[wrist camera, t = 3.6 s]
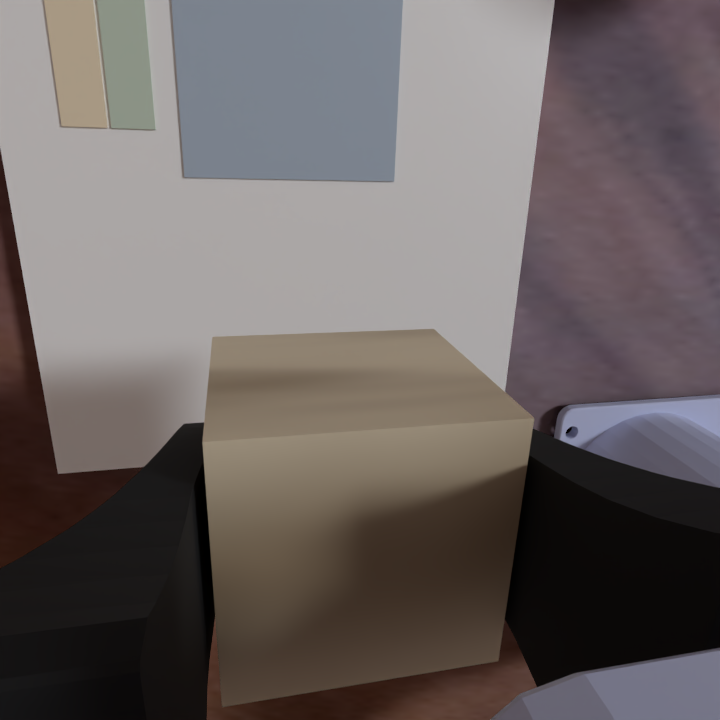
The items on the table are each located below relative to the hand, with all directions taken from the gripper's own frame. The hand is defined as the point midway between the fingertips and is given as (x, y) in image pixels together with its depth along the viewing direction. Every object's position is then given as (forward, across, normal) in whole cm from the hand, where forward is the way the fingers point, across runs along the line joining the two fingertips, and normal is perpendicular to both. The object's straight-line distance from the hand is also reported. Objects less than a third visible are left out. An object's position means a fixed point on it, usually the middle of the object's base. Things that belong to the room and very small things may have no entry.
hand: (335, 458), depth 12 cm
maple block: (+1, 0, 0) cm, 1 cm away
